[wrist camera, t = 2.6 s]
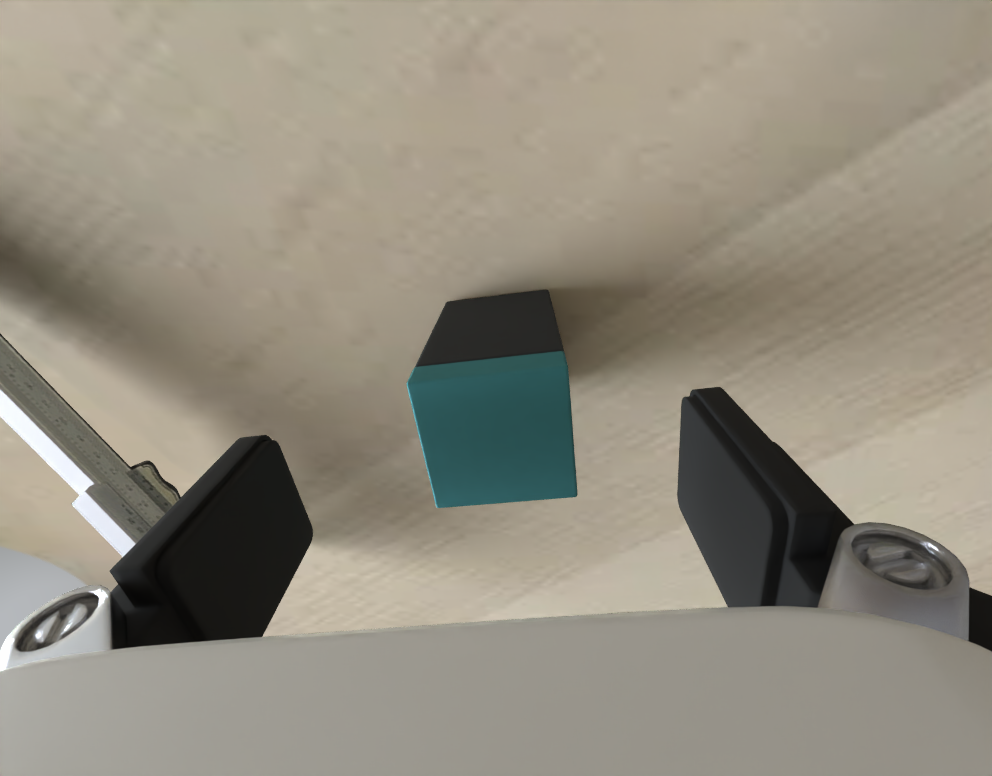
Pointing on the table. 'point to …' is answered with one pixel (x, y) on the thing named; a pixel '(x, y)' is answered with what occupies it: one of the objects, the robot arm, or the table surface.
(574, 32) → the table surface
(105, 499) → the caliper
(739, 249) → the table surface
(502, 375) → the block
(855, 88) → the table surface
